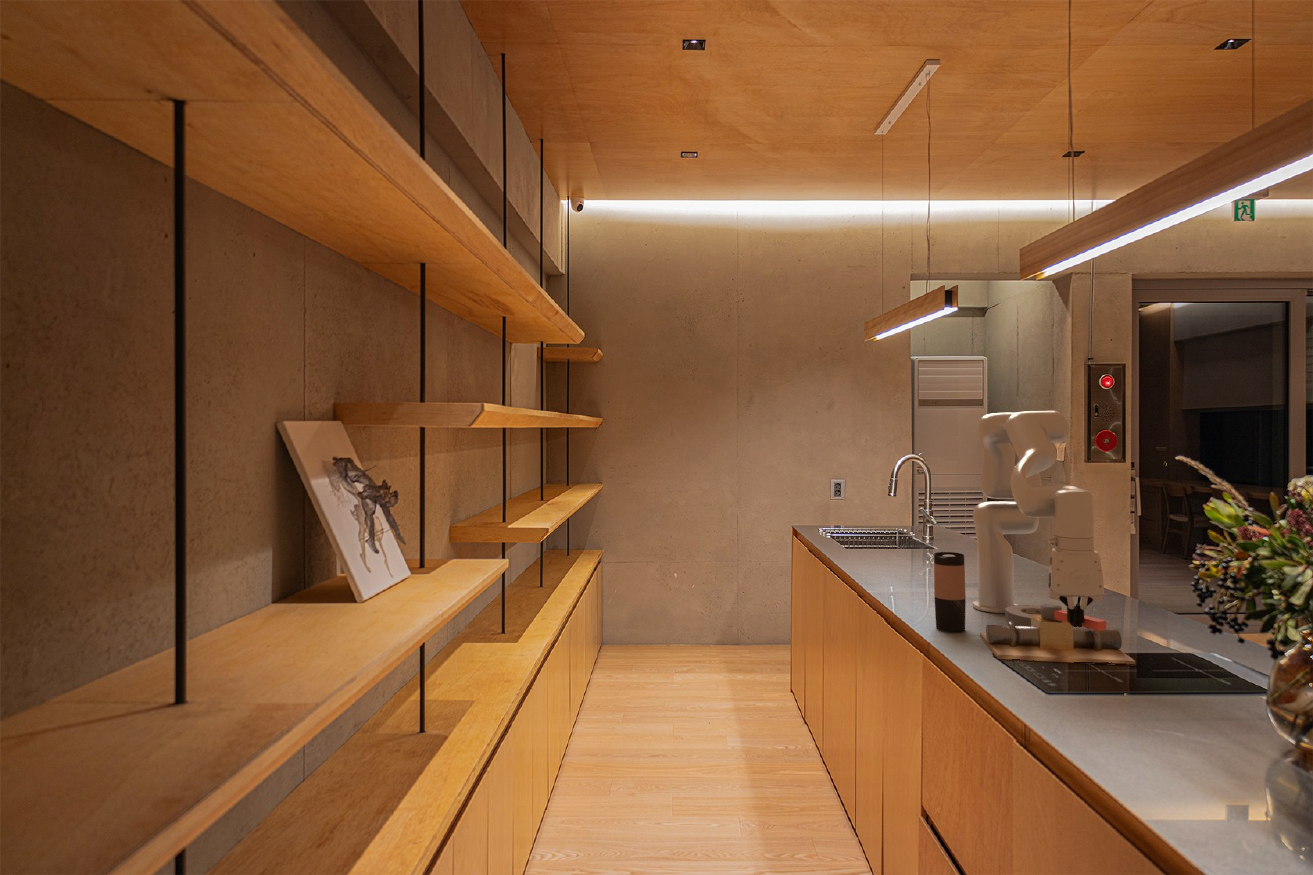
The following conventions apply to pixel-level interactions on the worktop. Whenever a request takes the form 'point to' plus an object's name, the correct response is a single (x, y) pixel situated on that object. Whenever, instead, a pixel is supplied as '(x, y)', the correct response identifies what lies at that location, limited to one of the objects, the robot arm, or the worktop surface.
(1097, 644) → the valve
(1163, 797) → the worktop surface
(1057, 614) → the lever
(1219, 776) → the worktop surface
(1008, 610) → the tape roll
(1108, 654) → the mount board
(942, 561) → the travel mug
